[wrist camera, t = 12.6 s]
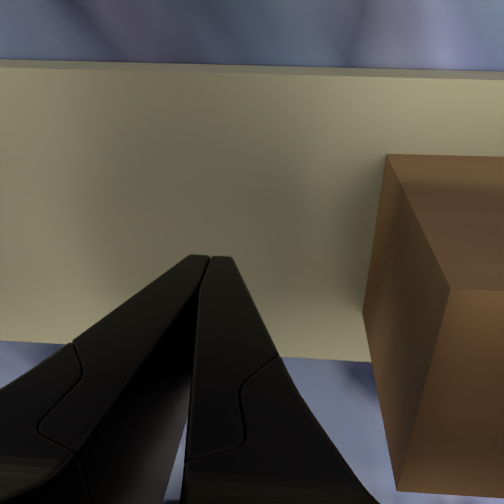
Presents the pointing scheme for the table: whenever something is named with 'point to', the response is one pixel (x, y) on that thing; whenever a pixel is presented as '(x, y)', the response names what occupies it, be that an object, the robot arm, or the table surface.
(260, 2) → the table surface
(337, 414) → the table surface
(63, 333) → the board
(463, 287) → the slat
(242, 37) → the table surface
